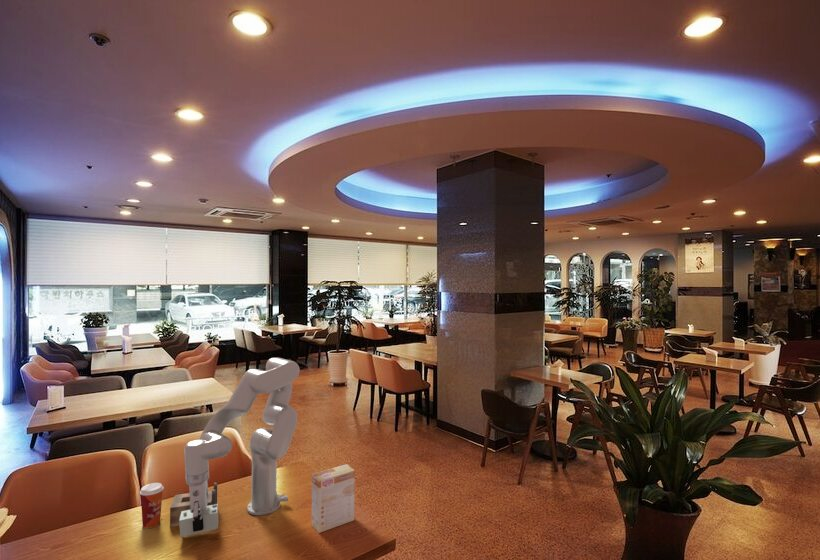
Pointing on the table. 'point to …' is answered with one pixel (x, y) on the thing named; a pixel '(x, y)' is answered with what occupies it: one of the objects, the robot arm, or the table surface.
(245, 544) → the table surface
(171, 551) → the table surface
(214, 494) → the brown boxy piece
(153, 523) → the paper cup
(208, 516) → the white block with knobs
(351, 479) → the coffeecake box
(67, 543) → the table surface
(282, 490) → the table surface
